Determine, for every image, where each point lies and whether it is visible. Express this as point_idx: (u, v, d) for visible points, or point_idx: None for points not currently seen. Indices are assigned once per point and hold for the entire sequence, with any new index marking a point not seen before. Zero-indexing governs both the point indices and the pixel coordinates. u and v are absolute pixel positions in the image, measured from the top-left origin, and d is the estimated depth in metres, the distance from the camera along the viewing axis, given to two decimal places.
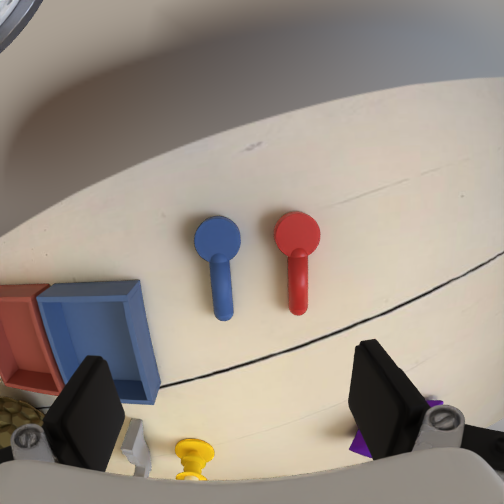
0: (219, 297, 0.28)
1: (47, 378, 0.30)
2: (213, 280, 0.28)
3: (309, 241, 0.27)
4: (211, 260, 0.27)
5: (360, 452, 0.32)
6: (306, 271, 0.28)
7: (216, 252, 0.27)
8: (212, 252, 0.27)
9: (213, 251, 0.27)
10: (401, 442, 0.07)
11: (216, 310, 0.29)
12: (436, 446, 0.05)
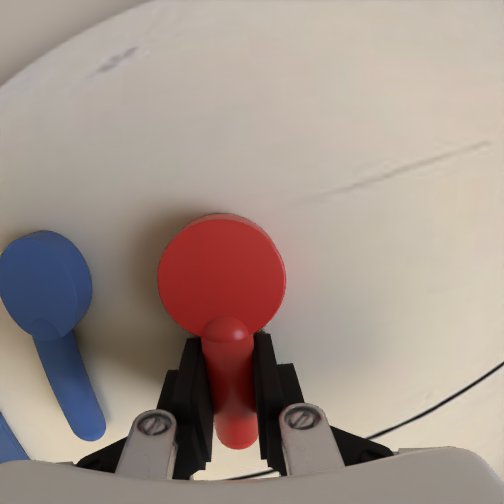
0: (63, 404, 0.10)
1: None
2: (45, 372, 0.10)
3: (253, 299, 0.10)
4: (31, 332, 0.10)
5: None
6: (249, 371, 0.10)
7: (37, 316, 0.10)
8: (30, 315, 0.10)
9: (31, 313, 0.10)
10: (267, 434, 0.08)
11: None
12: (309, 446, 0.06)
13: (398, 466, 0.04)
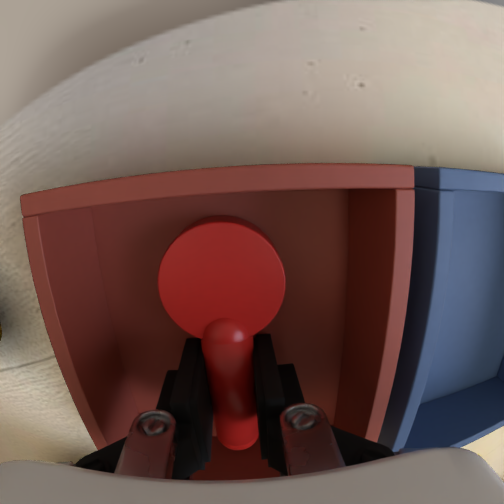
0: None
1: None
2: None
3: (253, 301, 0.10)
4: None
5: None
6: (249, 373, 0.10)
7: None
8: None
9: None
10: (267, 434, 0.08)
11: None
12: (309, 446, 0.06)
13: (398, 466, 0.04)
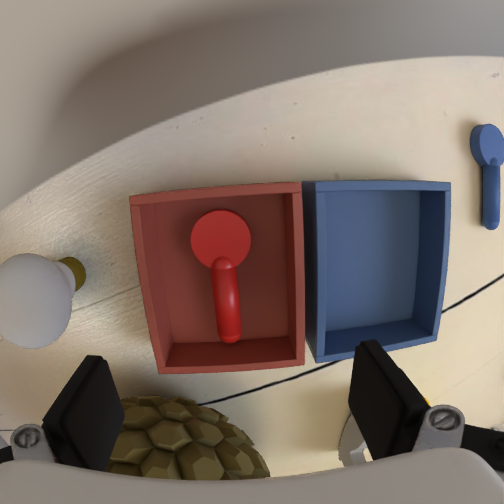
0: (496, 201, 0.21)
1: (249, 346, 0.23)
2: (492, 183, 0.21)
3: (236, 248, 0.21)
4: (491, 163, 0.21)
5: None
6: (234, 287, 0.21)
7: (493, 156, 0.21)
8: (491, 155, 0.20)
9: (491, 154, 0.20)
10: (401, 442, 0.07)
11: (490, 216, 0.22)
12: (436, 446, 0.05)
13: (398, 466, 0.04)
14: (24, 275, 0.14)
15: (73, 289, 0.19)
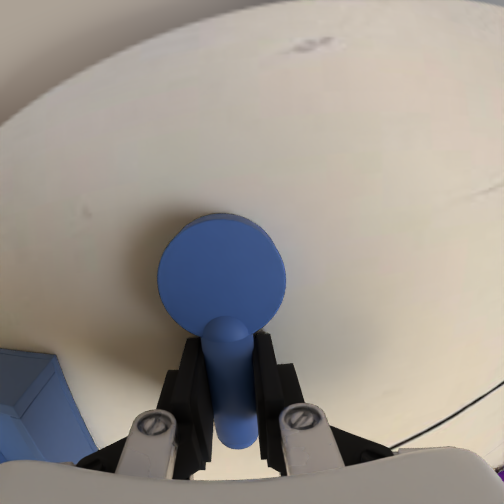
0: (228, 413, 0.10)
1: None
2: (212, 379, 0.10)
3: None
4: (206, 334, 0.10)
5: None
6: None
7: (220, 313, 0.10)
8: (208, 314, 0.10)
9: (210, 311, 0.10)
10: (267, 434, 0.08)
11: (220, 432, 0.11)
12: (309, 446, 0.06)
13: (398, 466, 0.04)
14: None
15: None
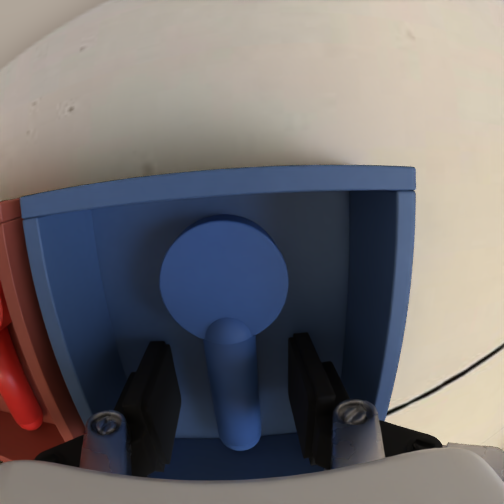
0: (230, 415, 0.10)
1: (54, 438, 0.11)
2: (215, 381, 0.10)
3: None
4: (208, 336, 0.10)
5: None
6: (3, 363, 0.10)
7: (222, 315, 0.10)
8: (210, 315, 0.10)
9: (213, 313, 0.10)
10: (315, 432, 0.08)
11: (223, 433, 0.11)
12: (356, 441, 0.06)
13: (398, 466, 0.04)
14: None
15: None
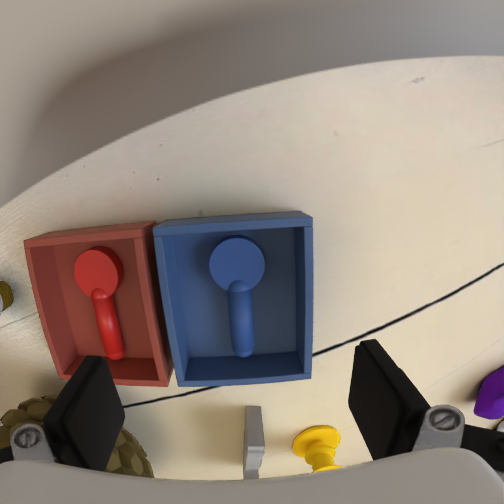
0: (238, 331, 0.23)
1: (131, 364, 0.24)
2: (231, 312, 0.23)
3: (106, 281, 0.22)
4: (229, 288, 0.23)
5: (485, 413, 0.26)
6: (109, 314, 0.23)
7: (236, 279, 0.23)
8: (231, 279, 0.23)
9: (232, 277, 0.23)
10: (401, 442, 0.07)
11: (234, 345, 0.24)
12: (436, 446, 0.05)
13: (398, 466, 0.04)
14: None
15: None
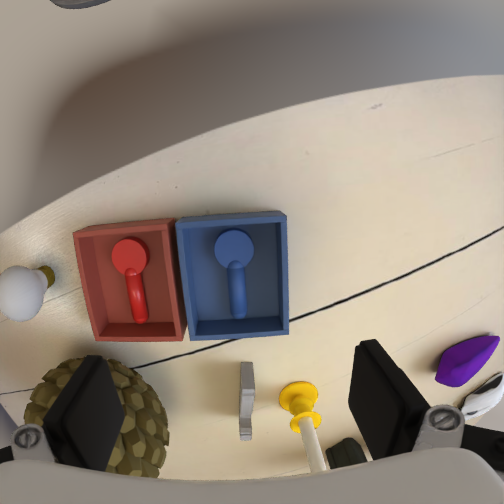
0: (235, 298, 0.32)
1: (153, 326, 0.33)
2: (230, 283, 0.32)
3: (137, 262, 0.31)
4: (228, 266, 0.32)
5: (445, 380, 0.35)
6: (138, 287, 0.32)
7: (233, 259, 0.32)
8: (229, 259, 0.32)
9: (230, 258, 0.32)
10: (401, 442, 0.07)
11: (232, 309, 0.33)
12: (436, 446, 0.05)
13: (398, 466, 0.04)
14: (15, 279, 0.24)
15: (45, 286, 0.29)
